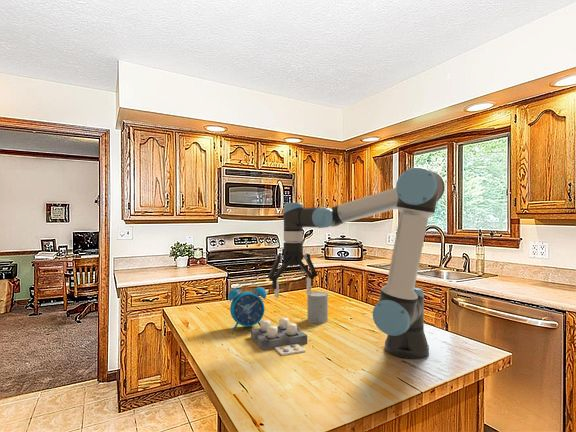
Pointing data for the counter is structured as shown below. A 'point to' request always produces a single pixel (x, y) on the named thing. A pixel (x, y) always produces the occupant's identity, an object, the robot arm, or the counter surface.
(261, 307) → the alarm clock
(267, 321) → the button
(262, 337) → the button board
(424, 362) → the counter surface
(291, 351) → the card
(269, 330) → the button
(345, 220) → the robot arm
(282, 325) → the button
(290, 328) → the button
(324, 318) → the speckled white tin can
